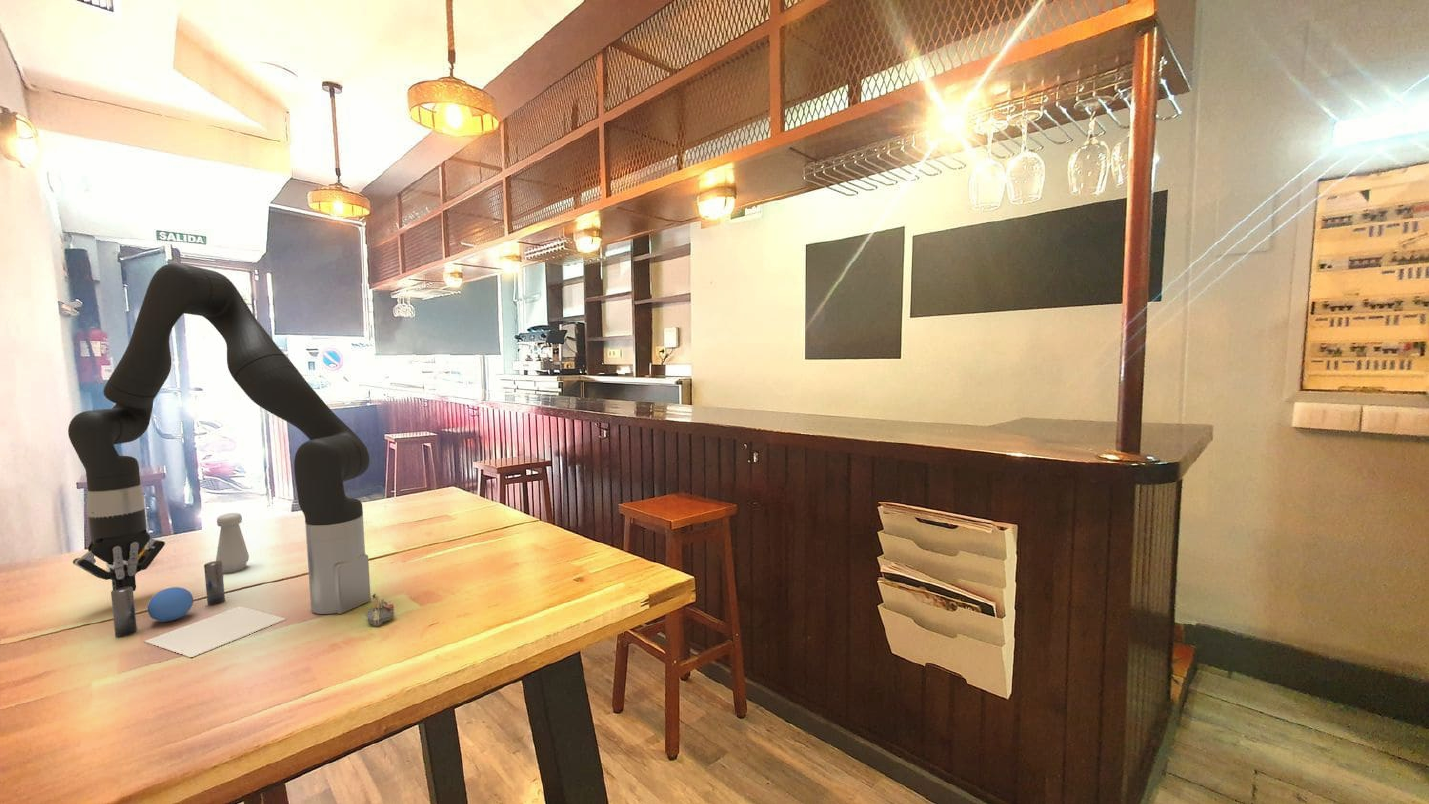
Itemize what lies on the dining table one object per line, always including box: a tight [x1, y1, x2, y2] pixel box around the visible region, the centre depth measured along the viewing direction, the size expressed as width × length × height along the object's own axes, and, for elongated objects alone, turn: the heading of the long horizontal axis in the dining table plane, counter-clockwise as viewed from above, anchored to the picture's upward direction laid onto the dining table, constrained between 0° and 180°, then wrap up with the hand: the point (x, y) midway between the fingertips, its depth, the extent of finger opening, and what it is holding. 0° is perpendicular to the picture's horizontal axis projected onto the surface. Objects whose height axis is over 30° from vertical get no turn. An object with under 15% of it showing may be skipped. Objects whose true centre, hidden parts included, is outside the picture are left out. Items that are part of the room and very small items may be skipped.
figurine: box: [365, 593, 395, 627], centre depth 100 cm, size 5×4×6 cm
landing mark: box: [143, 605, 287, 658], centre depth 97 cm, size 14×14×1 cm
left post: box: [110, 587, 138, 638], centre depth 96 cm, size 3×3×8 cm
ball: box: [147, 586, 194, 623], centre depth 101 cm, size 6×6×6 cm
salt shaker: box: [215, 512, 250, 574], centre depth 125 cm, size 6×6×13 cm
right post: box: [203, 560, 226, 606], centre depth 108 cm, size 3×3×8 cm
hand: (125, 595), depth 109 cm, fingers closed
